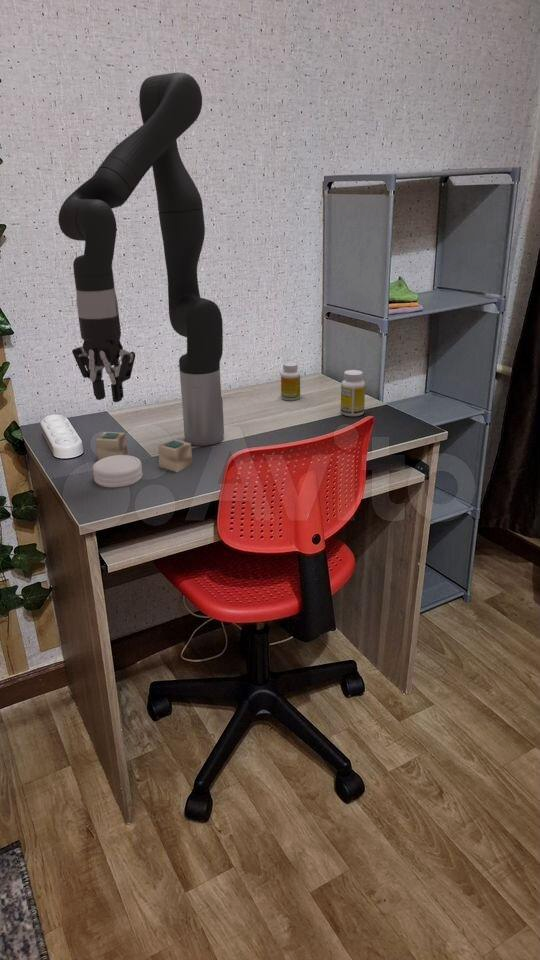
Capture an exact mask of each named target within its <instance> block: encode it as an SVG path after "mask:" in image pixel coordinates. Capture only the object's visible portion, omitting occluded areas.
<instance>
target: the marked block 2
mask: <svg viewBox="0 0 540 960" xmlns="http://www.w3.org/2000/svg"><path fill="white" fill-rule="evenodd" d="M157 449H158V451H157V453H158V461H159V462H158V463H159V468H161V469H164V468H165V470H168V471H172V472H176V473H179V472H180V471H183V470H184V469H186V468H188V467H190V466H191V465H193V455H192V445H191V443H187V442H186V441H183V440H180V439H175V438H173V439H171V440H169V441H166V442H164V443H162V444H160V445H158V446H157Z"/></svg>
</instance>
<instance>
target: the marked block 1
mask: <svg viewBox="0 0 540 960" xmlns="http://www.w3.org/2000/svg"><path fill="white" fill-rule="evenodd" d="M126 435H127V434H126V432H120V431H119V432H114V431H113V432H112V431H104V432H102V434H101V435H99V436H98V437H97V438H96V439H95V444H96V453H97V458H98V460H97V461H99V460H101V459H103V458H106V457H109V456H115V455H127V454H128V452H129V451H128V445H127V437H126Z"/></svg>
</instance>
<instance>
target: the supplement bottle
mask: <svg viewBox="0 0 540 960" xmlns="http://www.w3.org/2000/svg"><path fill="white" fill-rule="evenodd" d="M282 366H283V367H282V368H283V371H281V373H280V396H281V399H282V400H284V401H297V400H299V399H300V398H301V372H300V371H299V370H298V369H299V366H298V363H297V362H292V361H291V362H290V361H288V362H283V365H282Z"/></svg>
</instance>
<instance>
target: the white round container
mask: <svg viewBox="0 0 540 960" xmlns="http://www.w3.org/2000/svg"><path fill="white" fill-rule="evenodd" d="M142 465H143V464H142V461H141V460H140V459H139V458H137V457H136V456H134V455H129V454H128V455H127V454H126V455H115V456H109V457H106V458H103V459H101V460H97V461H96V462H95V463H94V464H93V466H92V471H93V480H94V482H95V483H96V484H97V485H98V486H101V487H105V488H123V487H127V486H131V485H133V484H136V483H137V482H139V481H140V480H141V479H142V478H143V467H142Z"/></svg>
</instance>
